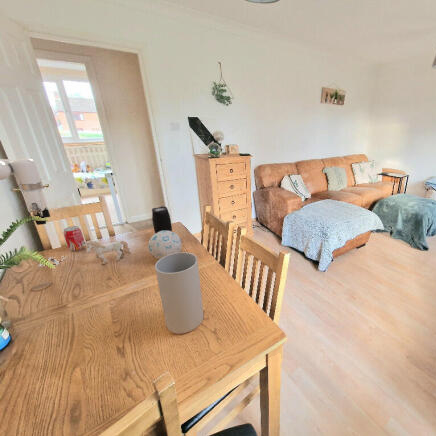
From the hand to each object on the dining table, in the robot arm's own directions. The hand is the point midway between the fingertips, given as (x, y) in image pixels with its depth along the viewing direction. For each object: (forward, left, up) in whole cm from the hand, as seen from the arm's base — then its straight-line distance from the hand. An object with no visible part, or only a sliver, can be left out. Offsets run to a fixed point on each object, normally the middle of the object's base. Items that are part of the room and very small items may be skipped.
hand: (43, 220), depth 116 cm
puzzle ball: (+51, +26, -18) cm, 60 cm away
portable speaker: (+32, +39, -18) cm, 53 cm away
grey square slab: (+8, -4, -18) cm, 20 cm away
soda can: (+4, +8, -18) cm, 20 cm away
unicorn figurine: (+33, +8, -18) cm, 38 cm away
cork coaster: (+27, -15, -18) cm, 36 cm away
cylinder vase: (+93, +1, -18) cm, 94 cm away
